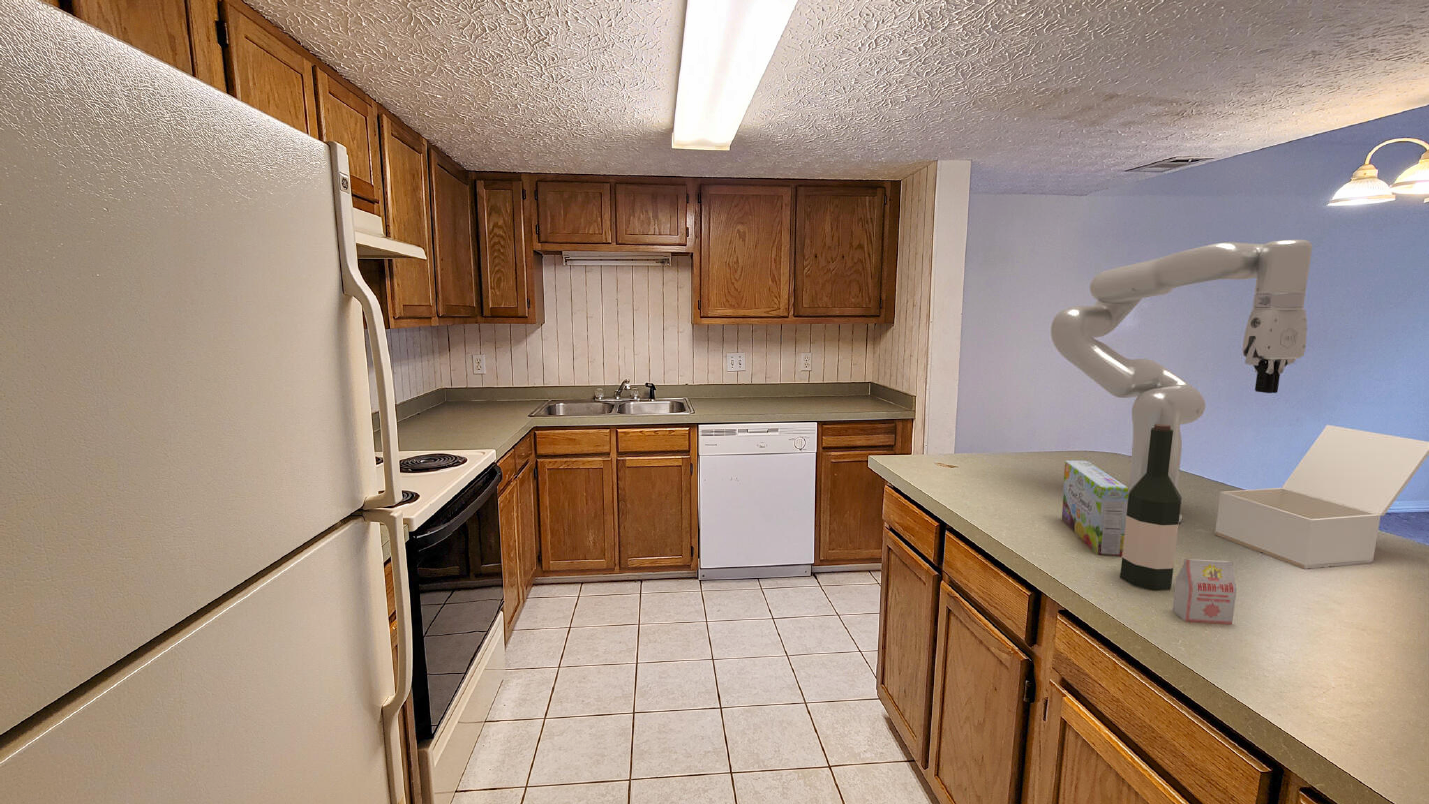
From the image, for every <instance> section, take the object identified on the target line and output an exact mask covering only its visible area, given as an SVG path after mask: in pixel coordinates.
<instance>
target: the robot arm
mask: <svg viewBox="0 0 1429 804" xmlns="http://www.w3.org/2000/svg"><path fill="white" fill-rule="evenodd" d="M1312 249H1313V245H1312V243H1311V242H1310V241H1309V240H1307V239H1284V240H1283V239H1282V240H1273V241H1269V242H1267V243H1261V244H1260V243H1243V242H1233V241H1232V242H1228V241H1227V242H1219V243H1212V244H1207V245H1204V246H1198V247H1195V248H1191V249H1186V250H1183V251H1182V250H1181V251H1179V252H1175V253H1171V254H1169V255H1165V256H1162V257H1159V258H1155V259H1150V260H1147V261H1142V262H1137V263H1133V264H1128V265H1124V266H1119V267H1114V268H1111V269H1107V270H1104V271H1101V272H1100V273H1098V274H1097V275H1095V276H1094V277H1093V278H1092V280H1091V282H1090V286H1089V291H1090V294H1091V296H1092V297H1093V298H1094V299H1095V300H1096V303H1095V304H1094V305H1080V306H1079V305H1077V306H1071V307H1067V308H1065V309H1063V310H1061V311H1059V312H1058V313H1057V314H1056V315H1055V317H1054V318H1053V320H1052V323H1051V328H1050V334H1051V339H1052V343H1053V345H1054V347H1055V349H1056V350H1057V351H1058V353H1059V354H1060V355H1061V356H1062V357H1063V358H1064V359H1066V360H1067V361H1069V362H1070V363H1071V364H1072V365H1073V366H1075V367H1076V368H1077V369H1079V370H1080V371H1082V372H1083V373H1084V375H1087V377H1089V378H1090V379H1092V380H1093V381H1094V383H1096V384H1098V385H1099V386H1100V387H1101V388H1102V389H1104V390H1105V391H1106V392H1108V393H1109V394H1110V395H1112V396H1114V397H1115V398H1121V399H1129V398H1136V399H1134V401H1133V403H1132V408H1131V420H1132V432H1133V433H1132V447H1131V459H1130V467H1129V468H1130V469H1129V477H1128V478H1129V479H1128V486H1127V487H1128V488H1129V491H1128V495H1129V492H1130V490H1131V489H1132V488H1133V487H1134V486H1135V484H1136V483H1137V482H1138V481H1139V480H1140V479H1141V478H1142V477H1143V476H1144V475H1145V474H1146V472H1147V463H1148V454H1149V445H1150V435H1151V428H1154V425H1155V424H1167V425H1171V430H1173V437H1172V446H1171V455H1170V464H1169V473H1168V475H1169V477H1170V479H1171V480H1172V482H1173V484H1174V485H1175V487H1176V489H1177V490H1178V485H1179V474H1180V467H1181V459H1182V450H1183V449H1182V448H1183V447H1182V443H1183V442H1182V434H1181V428H1180V426H1181V425H1186V424H1191V423H1193V422H1195V421H1197V420H1199V419H1200V418H1201V417H1202V415H1203V414H1204V413H1205V410H1206V403H1205V399H1204V397H1203V395H1202V394H1201V392H1200V391H1198V390H1197V389H1196V388H1195V387H1194V386H1193V385H1191V384H1189V383H1188V382H1186V381H1185V380H1184V379H1183V378H1180V377H1179V376H1178V375H1177V374H1175V373H1174V372H1172V371H1171V370H1169V369H1168V368H1166V367H1165V366H1164V365H1162V364H1160V363H1158V362H1156V361H1154V360H1150V359H1147V358H1146V359H1145V358H1137V359H1136V358H1135V359H1130V358H1128V357H1127V358H1126V357H1124V356H1123V355H1122V354H1120V353H1118V352H1117V351H1115V350H1114V349H1113V348H1112V347H1111V346H1109V345H1108V344H1105V343H1104V342H1102V341H1099V340H1098V339H1095V338H1100V337H1101V338H1102V337H1104V336H1106V335H1109V334H1110V333H1111V332H1113V331H1114V330H1115V329H1116V328H1117V327H1118V326H1119V325H1120V324H1121V323H1122V322H1123V320H1124V319H1125V318H1127V316H1128V315H1129V314H1130V313H1131V312H1132V311H1133V310H1134V308H1135V307H1136V306H1137V305H1138V304H1139V303H1140V302H1141V300H1142V299H1144V298H1149V297H1150V298H1151V297H1156V296H1157V297H1158V296H1162V295H1166V294H1169V293H1171V291H1173V289H1176V288H1179V287H1184V286H1189V285H1193V284H1198V283H1199V284H1200V283H1205V282H1211V281H1216V280H1217V281H1218V280H1249V279H1255V278H1256V282H1255V289H1254V297H1253V303H1252V305H1253V306H1252V310H1251V312H1250V315H1249V316H1248V320H1247V322H1246V328H1245V332H1244V337H1243V341H1242V355H1243V357H1245V361H1244V363H1245V365H1249V366H1253V368H1254V372H1255V373H1256V379H1255V386H1254V391H1255V392H1257V393H1265V394H1276V393H1278V391H1279V385H1280V378H1281V377H1280V376H1281V374H1283V373H1284V369H1285V367H1287V366H1288V365H1291V364H1294V363H1295V362H1296V359H1300V358H1303V356H1305V353H1306V344H1307V332H1308V328H1307V327H1308V320H1307V319H1308V318H1307V313H1306V309H1304V307H1305V306H1304V305H1305V300H1306V299H1305V298H1306V292H1307V291H1306V290H1307V285H1308V284H1307V283H1308V280H1309V279H1308V277H1309V269H1310V265H1311V257H1312ZM1127 505H1128V501H1127ZM1126 515H1127V513H1126ZM1182 521H1183V515H1182V514H1181V513H1180V517H1179V524H1180V523H1181V522H1182Z"/></svg>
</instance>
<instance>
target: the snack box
mask: <svg viewBox="0 0 1429 804" xmlns="http://www.w3.org/2000/svg"><path fill="white" fill-rule="evenodd" d="M1128 487H1129V486H1126V485H1125V484H1123V483H1122V482H1120V481H1118V480H1117V479H1116V478H1114V477H1112V476H1111V475H1110V474H1108V473H1106V472H1105V471H1103V470H1102V469H1100V468H1098V466H1096V465H1094V464H1093V463H1091V462H1089V460H1064V475H1063V492H1062V509H1061V511H1062V512H1061V520H1062V521H1063V522H1064V523H1065V524H1066V525H1067V526H1068V527H1069V528H1070V529H1071V530H1072V531H1073V532H1074V533H1075V534H1076V535H1077V536H1078V537H1079V538H1080V539H1081V540H1082V541H1083V543H1085V544H1086V545H1087V546H1088V547H1089V549H1090V550H1092V552H1094V554H1096V555H1098V556H1101V555H1102V556H1116V557H1117V556H1119V557H1120V556H1121V557H1122V554H1123V544H1124V534H1125V525H1126V513H1127V501H1128V491H1129V488H1128Z"/></svg>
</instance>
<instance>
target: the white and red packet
mask: <svg viewBox="0 0 1429 804" xmlns="http://www.w3.org/2000/svg"><path fill="white" fill-rule="evenodd" d="M1236 596H1237V583H1236V578H1235V573H1234V562H1232V561H1231V560H1230V561H1229V560H1228V561H1227V560H1210V559H1207V560H1206V559H1193V558H1192V559H1191V558H1184V562H1183V564H1182V567H1181V568H1180V570H1179V572H1178V574H1177V576H1176V578H1175V586H1174V594H1173V602H1172V611H1173V612H1174V613H1175V614H1176V615H1177V616H1179V617H1180V618H1181V619H1182V620H1184V622H1192V623H1194V622H1195V623H1203V624H1205V623H1207V624H1218V625H1219V624H1220V625H1233V621H1234V620H1233V619H1234V615H1235V614H1234V612H1235V606H1236V598H1237V597H1236Z"/></svg>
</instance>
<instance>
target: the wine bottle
mask: <svg viewBox="0 0 1429 804" xmlns="http://www.w3.org/2000/svg"><path fill="white" fill-rule="evenodd" d="M1172 437H1173V430H1171V425H1167V424H1155V425H1154V428H1151V435H1150V445H1149V454H1148V463H1147V472H1146V474H1145V475H1144V476H1143V477H1142V478H1141V479H1140V480H1139V481H1138V482H1137V483H1136V484H1135V486H1134V487H1133V488H1132V489H1131V490H1130V492H1129V495H1128V505H1127V515H1126V524H1125V534H1124V544H1123V554H1122V556H1121V564H1120V575H1119V579H1121V580H1123V581H1124V582H1125V583H1128V584H1129V585H1131V586H1133V587H1137V588H1141V589H1145V590H1149V591H1153V592H1157V591H1170V590H1171V589H1172V584H1173V583H1172V582H1173V574H1174V567H1175V559H1176V550H1177V541H1178V532H1179V524H1180V523H1179V517H1180V514H1181V507H1182V499H1183V498H1182V496H1181V494H1180V493H1179V491H1178V488H1177V489H1176V487H1175V485H1174V484H1173V482H1172V480H1171V479H1170V477H1169V475H1168V473H1169V464H1170V455H1171V446H1172Z"/></svg>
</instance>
